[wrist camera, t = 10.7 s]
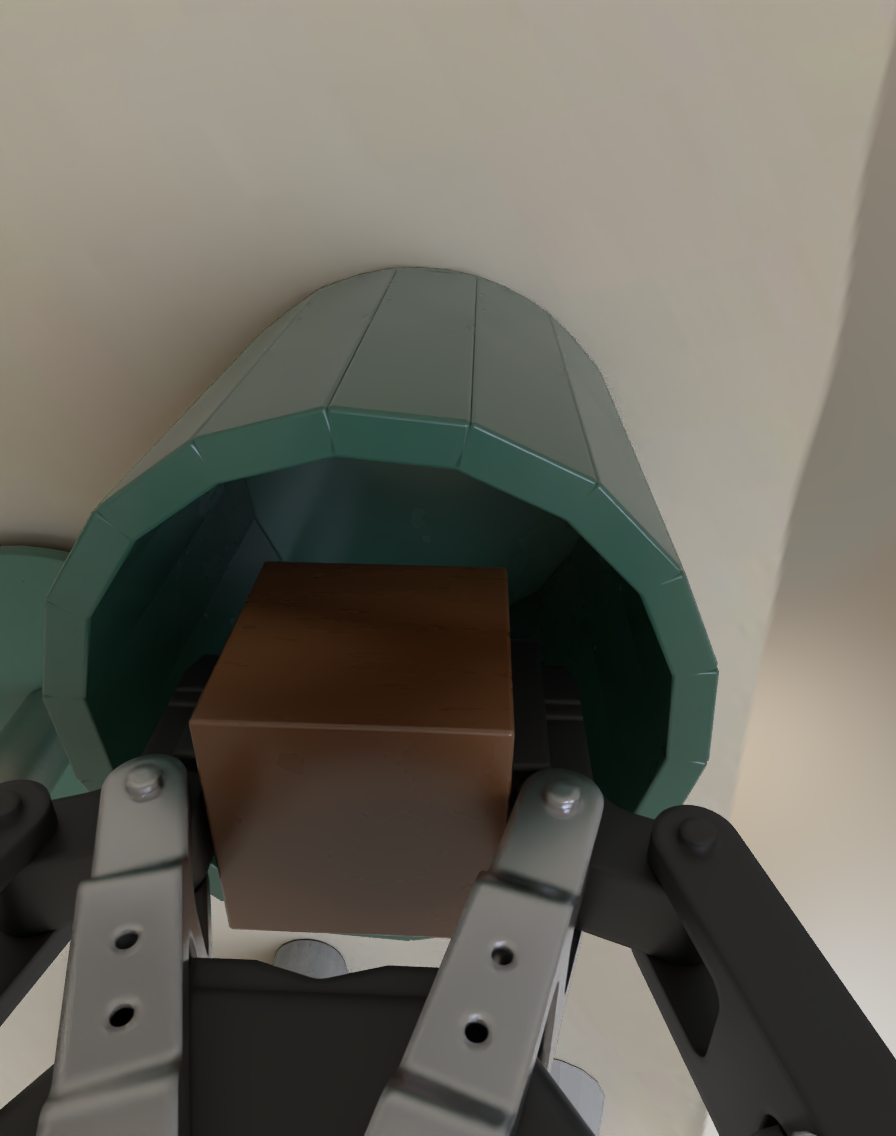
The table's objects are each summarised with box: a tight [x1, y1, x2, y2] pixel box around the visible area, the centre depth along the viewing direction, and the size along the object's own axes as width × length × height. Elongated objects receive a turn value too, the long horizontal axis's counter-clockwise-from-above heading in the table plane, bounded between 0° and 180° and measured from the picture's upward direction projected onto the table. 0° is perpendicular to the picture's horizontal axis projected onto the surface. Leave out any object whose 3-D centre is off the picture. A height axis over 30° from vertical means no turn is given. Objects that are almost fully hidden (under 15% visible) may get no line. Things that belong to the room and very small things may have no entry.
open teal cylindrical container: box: [42, 267, 719, 941], centre depth 20 cm, size 12×12×12 cm
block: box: [189, 561, 515, 938], centre depth 14 cm, size 5×5×5 cm
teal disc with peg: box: [0, 545, 88, 800], centre depth 27 cm, size 13×13×6 cm
